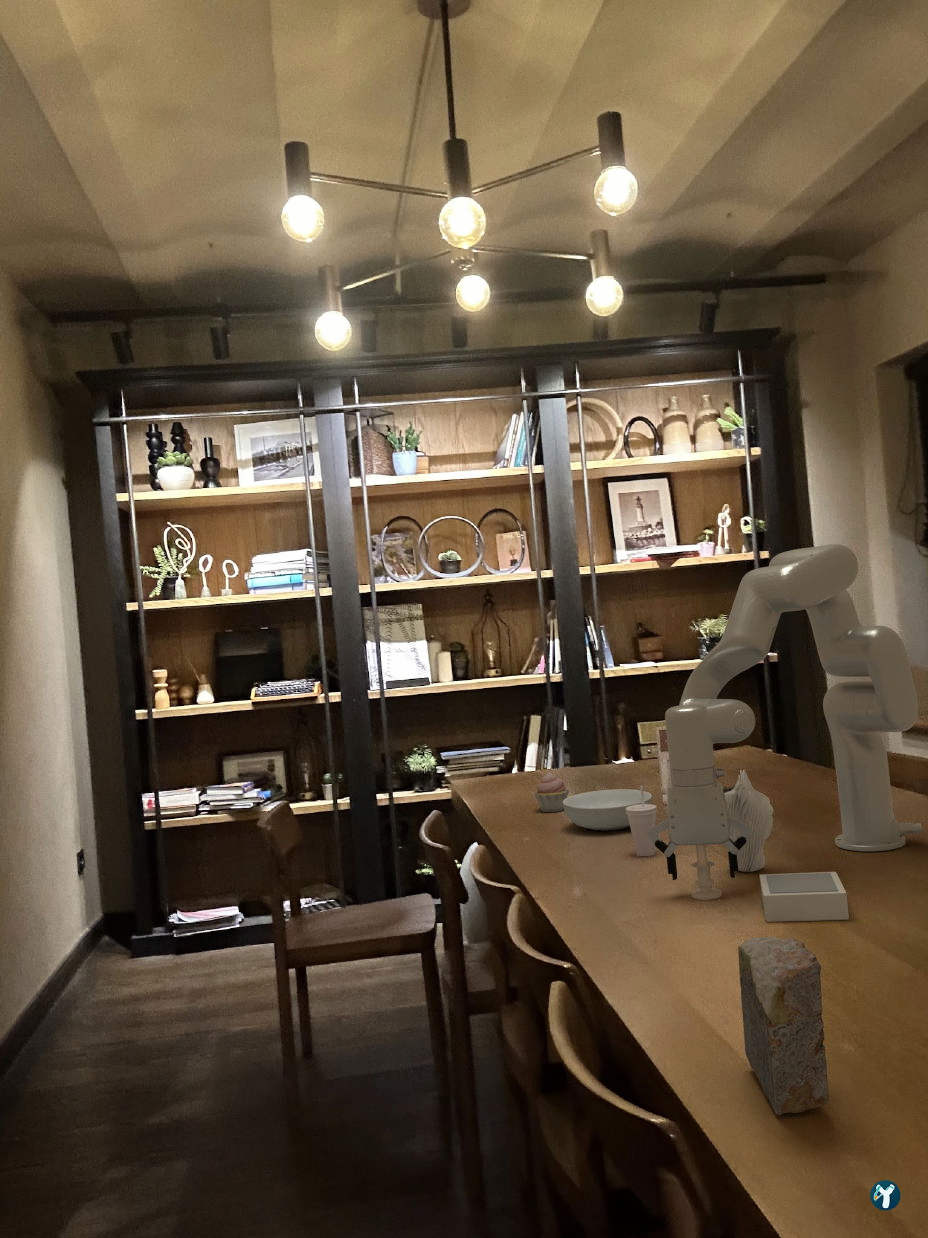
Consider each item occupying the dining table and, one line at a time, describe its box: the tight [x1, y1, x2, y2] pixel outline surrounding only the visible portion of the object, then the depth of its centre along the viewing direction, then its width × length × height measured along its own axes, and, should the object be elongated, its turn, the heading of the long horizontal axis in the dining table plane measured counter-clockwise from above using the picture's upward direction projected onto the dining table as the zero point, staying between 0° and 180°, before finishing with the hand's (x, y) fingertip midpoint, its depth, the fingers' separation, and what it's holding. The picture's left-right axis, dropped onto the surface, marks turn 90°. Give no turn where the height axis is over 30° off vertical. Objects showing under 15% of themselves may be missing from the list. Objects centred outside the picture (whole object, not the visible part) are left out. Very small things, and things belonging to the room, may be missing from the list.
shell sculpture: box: [724, 769, 774, 873], centre depth 178 cm, size 8×8×18 cm
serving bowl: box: [563, 788, 653, 832], centre depth 227 cm, size 21×21×7 cm
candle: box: [690, 845, 723, 901], centre depth 165 cm, size 5×5×10 cm
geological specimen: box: [737, 936, 830, 1116], centre depth 97 cm, size 11×6×15 cm, turn 178°
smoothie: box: [626, 785, 658, 857], centre depth 197 cm, size 6×6×14 cm
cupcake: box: [533, 771, 570, 813], centre depth 253 cm, size 9×9×10 cm
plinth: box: [759, 871, 850, 923], centre depth 153 cm, size 12×12×4 cm
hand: (703, 877), depth 165 cm, fingers open, 9 cm apart
